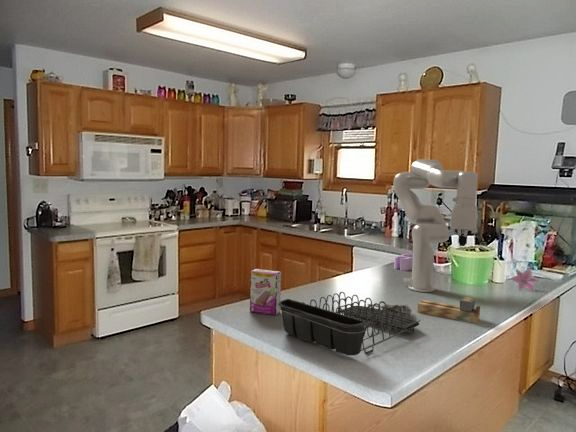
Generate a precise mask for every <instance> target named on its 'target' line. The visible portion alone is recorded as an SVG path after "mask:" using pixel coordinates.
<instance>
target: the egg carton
mask: <svg viewBox="0 0 576 432" xmlns="http://www.w3.org/2000/svg"><path fill="white" fill-rule="evenodd" d="M395 305H396V304H386V307H387V308H390V307H392V308H394V306H395ZM399 306H400V307H401V309H402V312H404V313H408V314H410V318H412V315H411V314H412V312H413V311H412V309H411V308H410V306H409V304H405V305H404V304H399ZM381 307H385V304H383V305H382V306H381ZM384 309H385V308H383V310H384ZM395 310H398V311H400V308H399V307H398V306H397V307H395ZM387 311H388V309H387ZM389 312H393V310H389ZM395 312H396V311H395ZM397 314H400V315H401V313H400V312H397ZM402 315H403V316H406V317H409V315H407V314H403V313H402Z"/></svg>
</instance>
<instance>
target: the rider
mask: <svg viewBox="0 0 576 432" xmlns="http://www.w3.org/2000/svg"><path fill="white" fill-rule="evenodd" d="M475 303H476V299H475V298H473V297H468V296H466V297H465V296H463V297H462V298H461V299H460V300H459V306H460V308H459V310H464V311H469V312H472V311H473V309H475V308H476V306H475V305H476V304H475Z"/></svg>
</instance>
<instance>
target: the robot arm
mask: <svg viewBox="0 0 576 432" xmlns="http://www.w3.org/2000/svg"><path fill="white" fill-rule="evenodd" d="M410 166H411V167H410V171H403V172H399V173H397V174H396V175H395V176H394V178H393V182H392V183H393V191H394V192H395V195H396V197H397V199H398V200H399V202H400V204H401V205H402V207H403V210H404V212H405V215H406V217H407V218H408V221H409V223H411V224H412V225H414V226H413V227H412V229H411V239H412V254H413V264H412V269H411V277H410V278H408V277H403V278H402V281H403V283H405V284H408V285H407V289H409V290H411V291H415V292H419V293H430V292H431V293H432V292H435V291H436V287H435V286H434V285H433V279H434V278H433V276H434V275H433V274H434V260H435V259H434V256H435V252H434V250H433V247H432V245H431V244H441V243H445V242H447V241H448V239H449V238H450V231H451V232H455V233H456V235H457V236H458V241H457V243H458V244H459V246H460V247H461V246H462V247H465V246H466V245H467V242H468V236H470V235H471V234H476V233H478V226H479V225H478V224H479V214H478V205H476V202H477V189H478V180H479V179H478V178H479V174H478V173H477V172H475V171H464V170H451V169H449V170H448V169H444V168H443V165H442V162H440V161H439V160H437V159H427V158H426V159H425V158H421V159H419V158H418V159H417V160H415V161H413V162H412V164H411V165H410ZM430 185H431V186H434V187H435V188H436V187H437V188H439V189H456V196H455V198H454V197H453V198H452V202H455V204H454V203H453V206H452V210H451V215H450V220H449V221H450V225H449V226H450V227H448V225H447V223H446V221H445V218H444V217H443V214H442V213H441V212H442V211H440V209H439V208H438V207H437V206H435V205H431V204H423V203H421V201H420V198H419V196H418V195H417V194H416V193H415V192H414V191H413V190H423V189H427V188H428V187H429V186H430ZM449 230H450V231H449ZM463 231H464V232H463ZM463 233H464V234H463Z"/></svg>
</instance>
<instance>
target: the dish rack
mask: <svg viewBox="0 0 576 432" xmlns="http://www.w3.org/2000/svg"><path fill="white" fill-rule="evenodd" d="M341 294H343V295H344V296H343V297H344V298H341ZM335 295H336V296H337V297H338V300H335ZM354 296H355V297H356V298H357V301H354ZM329 297H330V298H331V303H332V304H331V309H330V304H329V303H328V300H329ZM348 298H349V299H350V301H351V303H347V301H348ZM322 299H324V301H325V303H323V305H322V307H321V302H322ZM342 300H343V301H344V304H343V305H341V301H342ZM367 300H370V303H367ZM312 302H314V303H315V306H314V305H312ZM335 302H336V303H337V304H338V305H337V307H336V309H335V305H334V304H335ZM362 302H363V303H364V305H361V303H362ZM354 304H357V305H354ZM381 304H383V305H385V307H382V306H381ZM278 305H279V306H280V312H281V319H282V326H283V329H284V331H285V333H287V334H289V335H291V336H294V337H296V336H297V338H299V339H302V340H304V341H307V342H309V343H310V342H311V343H315V345H318V346H321V347H323V348H326V349H328V350H331V351H332V350H334V351H335V352H337V353H340V354H342V355H345V356H350V357H351V356H357V355H359V354H361V352H363V351H364V354H365V355H368V354H371V353H373V352H374V346H377V345H379V344H382V343H383V342H386V341H388V340H390V339H392V338H394V337H396V336H398V335H401V334H402V333H406V332H407V334H408V335H410V334H412V333H414V332H415V328H417V327H418V326H420V322H421V319H419V320H417V319H414V318H413V317H410V314H408V313H404V312H402V309H401V307H400V304H394V305H395V306H394V308H392V307H390V308H387V307H386V302H385V301H383V300H380V302H378V303H377V302H375V303H374V304H373V301H372V299H371V298H370V297H366V298H365V299H359V296H358V295H357V294H352V296H347V297H346V293H345V292H344V291H340V292H339V293H334V294H333V295H331V294H328V295H327V296H326V297H324V296H321V297H320V298H319V305H318V303H317V301H316V300H315V299H314V298H313V299H311V300H310V303H309V304H308V303H305V302H304V301H301V302H300V301H298V300H294V299H292V298H286V299H282V300H280V302H279V303H278ZM317 305H318V306H317ZM367 305H368V306H367ZM349 306H350V307H349ZM397 306H398V307H399V308H400V311H398V310H395V307H397ZM375 307H376V308H375ZM383 308H385V309H384V310H383ZM387 309H388V311H387ZM389 310H393V312H389ZM395 311H396V312H395ZM397 312H400V313H401V315H400V314H397ZM402 313H403V314H407V315H409V317H406V316H403V315H402ZM369 322H370V323H369ZM376 325H378V329H377V331H376ZM369 328H371V335H370V334H369ZM386 328H387V329H386ZM392 329H395V331H394V332H395V334H393V335H391V330H392ZM387 331H388V335H389V337H387V338H385V335H384V334H385V332H387ZM398 331H400V332H398ZM366 332H367V333H366ZM365 334H367V337H366V338H365ZM380 334H382V335H381V336H382V340H380V341H377V342H375V336H377V335H380ZM370 338H372V344H371V345H368V346H365V345H364V341H366V340H368V339H370ZM369 348H371V349H370V350H368V349H369ZM367 350H368V351H367Z"/></svg>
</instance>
